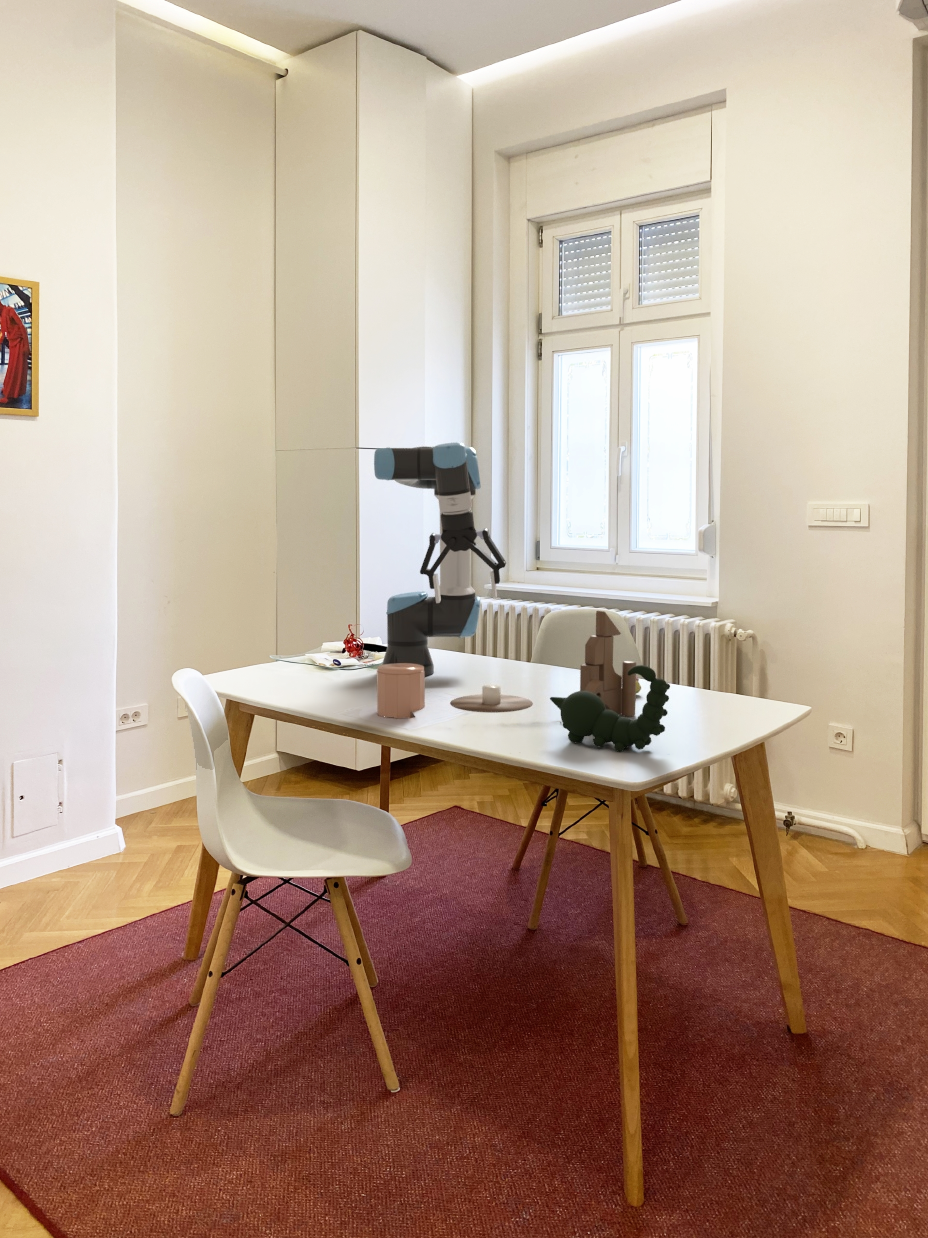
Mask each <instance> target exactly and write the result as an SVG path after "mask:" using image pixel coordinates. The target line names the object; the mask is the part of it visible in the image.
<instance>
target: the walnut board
mask: <svg viewBox="0 0 928 1238" xmlns="http://www.w3.org/2000/svg"><path fill="white" fill-rule="evenodd" d="M449 702H450V703H449V704H450V706H452V707H453V708H455V709H458V710H462V711H468V712H476V713H509V712H511V713H512V712H517V711H522V710H526V709H529V708H530V707H532V706H533V705H534V702H533V701H532V700H530V699H529V698H525V697H523V696H522V697H521V696H517V695H511V694H501V703H500V704H497V705H486V704H483V703H482V693H481V694H473V695H472V694H469V695H465V696H464V695H463V696H460V697H456V698H454V699H452V700H450V701H449Z"/></svg>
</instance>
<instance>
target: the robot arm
mask: <svg viewBox="0 0 928 1238" xmlns="http://www.w3.org/2000/svg"><path fill="white" fill-rule="evenodd" d="M373 455H374V456H373V457H374V458H373V466H374V467H373V468H374V469H373V470H374V476H375V478H376V479H377V480H382V481H383V480H385V481H395V482H396V483H398V484H399V485H404V486H408V487H412V488H416V489H422V490H423V489H427V490H429V489H431V490H433V492H434V495H433V496H434V497H435V498H436V499H437V500H438V507H439V508H438V509H439V533H435V532H431V534H430V535H429V537H428V538H429V539H428V541H429V545H428V547H427V551H426V554H425V556H424V558H423V561H422V564H421V568H420V569H419V573H420V575H425V576H427V577H428V583H429V589H430V590H434V596H429V594H428V592H427V591H412V592H405V593H400V594H395V595H392V596H391V597H389V598H388V600H387V602H386V603H387V605H386V615H387V616H386V621H387V623H386V624H387V625H386V627H387V628H386V630H387V631H386V634H387V635H386V636H387V637H386V638H387V639H386V641H387V645H386V646H387V647H386V650H385V654H384V657H383V660H382V662H381V665H385V664H393V663H411V664H419V665H422V666H424V671H425V677H427V676H431V675H432V674H434V673H435V666H434V662H433V659H432V656H431V652H430V649H429V646H428V639H429V638H460V639H461V638H469V637H473V636H474V635H475V634H476V633H477V629H478V623H479V616H480V606H481V605H480V604H481V597H480V596H478V595H476V590H475V589H474V588H473V587H472V585H471V551H472V552H473V553H474V554H476V555H477V556H478V557H479V558H480V559H481V560H482V561H483V562H484V563H485V564H486V565H487V566H489V568H491V569H490V572H489V574H490V575H489V577H490V583H491V592H492V599H494V600H495V599H497V597H498V589H497V584H500V582H501V575H500V569H502V568H505V567H506V564H507V562H506V560H505V558H504V557H503V555H502V553H501V552H500V550H499V549H498V548H497V546H496V544H495V542H494V541H493V540H492V538H491V536H490V531H489V528H487V527H485V528H483V529H481V530H476V528H475V521H474V513H473V510H472V508H473V505H472V502H473V501H472V500H473V499H474V498H475V497H476V490H479V489H481V478H480V471H479V462H478V455H477V451H476V449H475V448H474V447H471V446H465V444H464V443H463V442H448V443H441V444H437V445H435V446H416V447H382V448H379V447H377V449H375V451H374V454H373ZM477 537H479V538H480V539H481V540H483V541H484V543H485V544H486V546H487V548H488V549H489V551H490V553H491V555H492V556H493V557H494V559H495V560H494V559H493V558H492V557H491V556H490V555H489V554H488V553H487V552H486V551H485V550H484V549H483V548H482V547H480V545H479V544H478V543H477V542H476V541H475V540H476V539H477ZM438 543H439V556H438V557H437V559H436V560H435V561H434V563H433V564H432V566H431V568H428V567H429V564H430V561H431V558H432V556H433V553H434V551H435V548H436V545H437V544H438ZM438 568H439V573H435V572H436V571H437V569H438Z"/></svg>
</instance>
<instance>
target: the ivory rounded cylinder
mask: <svg viewBox="0 0 928 1238" xmlns="http://www.w3.org/2000/svg"><path fill="white" fill-rule="evenodd" d="M481 687H482V688H481V689H482V691H481V692H482V693H481V694H482V703H483V704H486V705H497V704H500V703H501V695H502V694H501V688H502V686H501V685H497V684H483V685H482V686H481Z"/></svg>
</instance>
